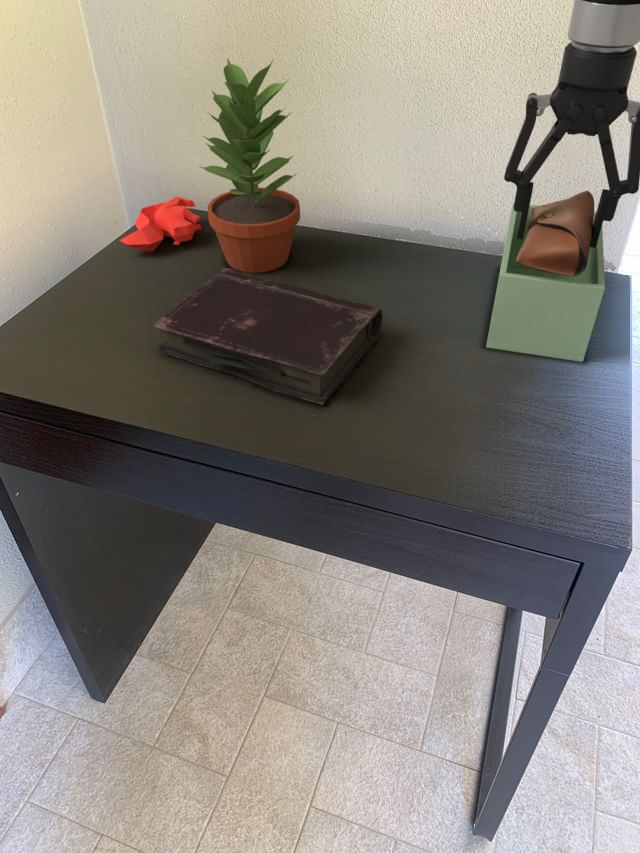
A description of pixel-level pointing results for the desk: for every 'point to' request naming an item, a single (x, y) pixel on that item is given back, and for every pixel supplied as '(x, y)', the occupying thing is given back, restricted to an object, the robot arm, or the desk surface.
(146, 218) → the animal figurine
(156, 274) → the desk surface
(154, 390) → the desk surface
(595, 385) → the desk surface
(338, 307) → the diary
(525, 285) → the green open box
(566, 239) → the sunglasses case
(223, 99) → the potted plant
